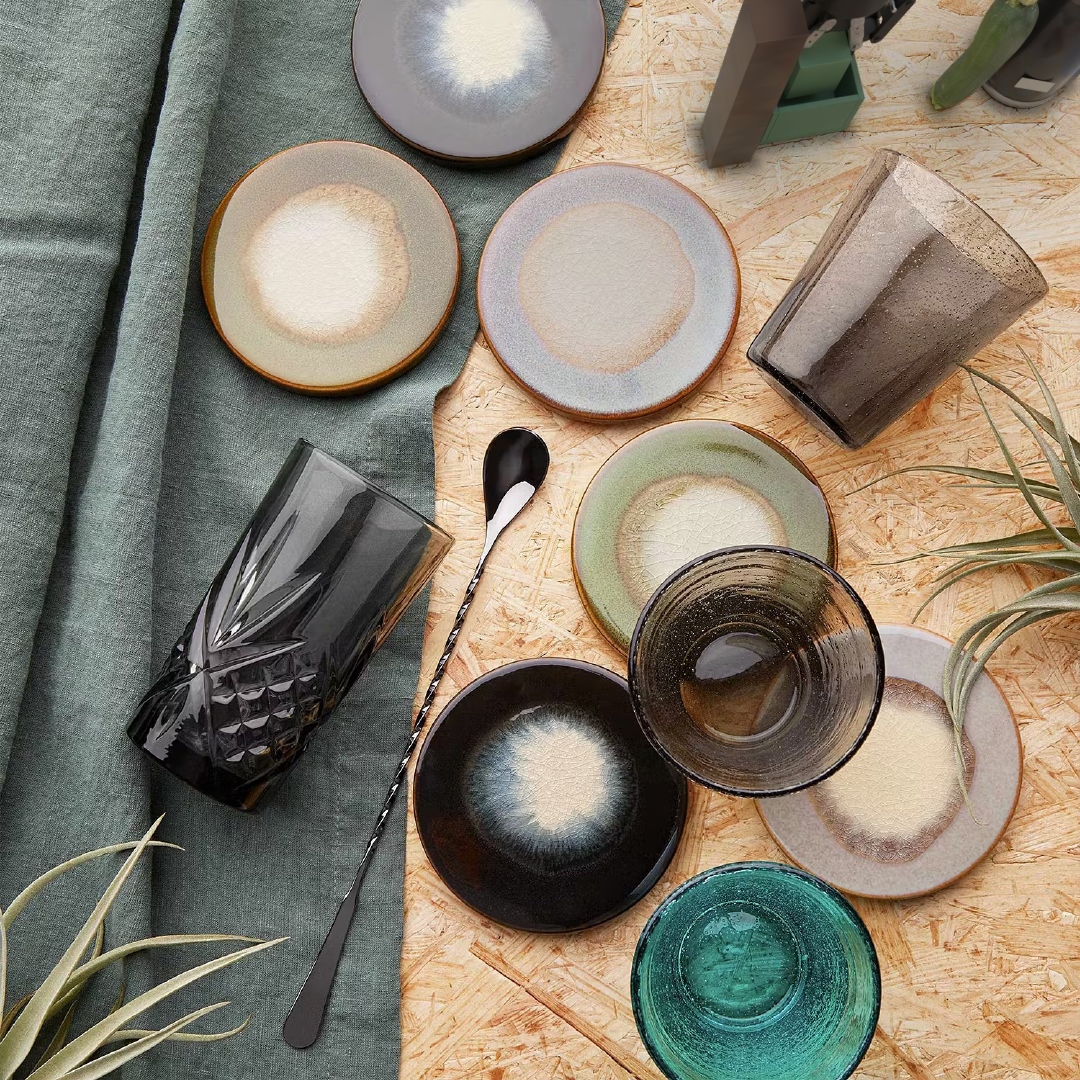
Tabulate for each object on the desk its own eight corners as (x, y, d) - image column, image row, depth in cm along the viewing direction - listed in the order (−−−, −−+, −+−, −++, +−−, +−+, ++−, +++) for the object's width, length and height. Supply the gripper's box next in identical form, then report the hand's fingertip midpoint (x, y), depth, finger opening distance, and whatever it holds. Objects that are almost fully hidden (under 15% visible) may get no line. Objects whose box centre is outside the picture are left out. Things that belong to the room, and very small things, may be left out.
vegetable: (964, 90, 96) (1078, -53, 77) (962, 129, 96) (1076, -5, 76) (922, 86, 96) (1024, -59, 76) (919, 125, 96) (1022, -10, 76)
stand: (741, 121, 96) (798, -16, 76) (750, 161, 95) (809, 34, 75) (699, 128, 96) (745, -7, 76) (708, 168, 95) (756, 43, 75)
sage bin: (826, 47, 97) (844, 11, 91) (845, 130, 96) (865, 98, 90) (740, 62, 96) (753, 27, 91) (758, 145, 95) (773, 114, 90)
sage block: (823, 44, 92) (840, 10, 87) (834, 90, 92) (852, 59, 87) (774, 52, 92) (788, 19, 87) (785, 99, 92) (800, 68, 87)
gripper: (791, -3, 74) (742, 117, 91) (965, -33, 75) (884, 92, 91) (771, -89, 75) (727, 46, 92) (944, -117, 75) (868, 22, 92)
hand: (806, 68), depth 92 cm, fingers closed on sage block, 5 cm apart
